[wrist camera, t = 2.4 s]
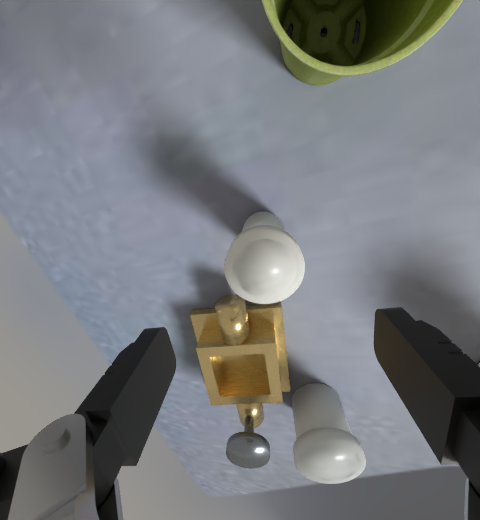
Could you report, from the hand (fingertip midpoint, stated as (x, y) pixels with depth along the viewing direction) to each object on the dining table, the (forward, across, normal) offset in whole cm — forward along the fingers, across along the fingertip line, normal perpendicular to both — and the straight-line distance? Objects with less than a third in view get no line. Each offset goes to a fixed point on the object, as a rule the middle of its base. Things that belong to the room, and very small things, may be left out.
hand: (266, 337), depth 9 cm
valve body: (+15, +4, +14) cm, 21 cm away
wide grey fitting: (+15, -4, +23) cm, 28 cm away
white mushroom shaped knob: (+15, 0, 0) cm, 15 cm away
